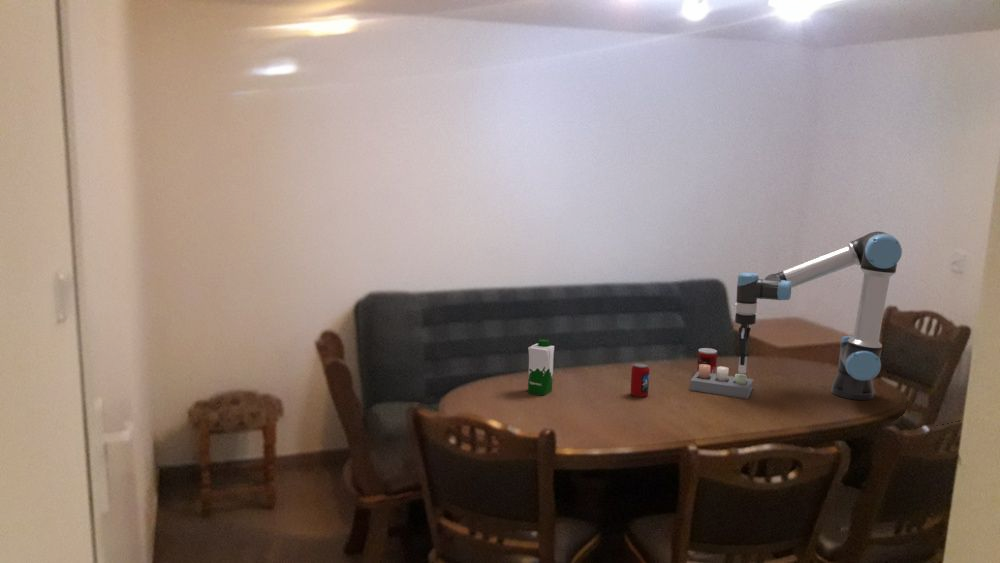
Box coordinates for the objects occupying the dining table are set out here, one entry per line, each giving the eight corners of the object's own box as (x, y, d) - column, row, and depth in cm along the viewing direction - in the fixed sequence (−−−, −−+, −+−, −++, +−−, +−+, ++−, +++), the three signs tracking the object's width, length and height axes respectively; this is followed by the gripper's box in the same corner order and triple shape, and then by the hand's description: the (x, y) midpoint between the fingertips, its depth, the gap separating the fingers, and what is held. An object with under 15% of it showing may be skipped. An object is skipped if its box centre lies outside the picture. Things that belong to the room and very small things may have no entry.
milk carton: (555, 390, 300) (556, 340, 296) (545, 397, 292) (547, 345, 288) (534, 387, 304) (536, 337, 300) (524, 393, 296) (525, 342, 292)
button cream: (728, 379, 307) (729, 367, 306) (726, 382, 303) (727, 370, 302) (717, 378, 308) (718, 365, 308) (715, 380, 304) (716, 368, 304)
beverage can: (648, 398, 293) (649, 367, 291) (630, 397, 294) (631, 366, 292) (648, 393, 299) (650, 363, 297) (630, 391, 301) (632, 361, 299)
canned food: (713, 373, 329) (715, 348, 327) (717, 378, 321) (718, 353, 319) (695, 372, 329) (697, 347, 328) (698, 377, 321) (699, 352, 320)
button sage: (746, 387, 304) (747, 374, 303) (745, 390, 300) (746, 377, 299) (735, 385, 306) (735, 373, 305) (733, 388, 302) (734, 375, 301)
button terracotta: (710, 377, 309) (711, 365, 309) (708, 379, 305) (709, 367, 305) (699, 375, 311) (700, 363, 310) (697, 378, 307) (698, 366, 306)
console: (752, 388, 308) (753, 379, 307) (747, 398, 295) (748, 388, 295) (696, 381, 317) (697, 371, 316) (689, 390, 304) (690, 380, 304)
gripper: (738, 309, 305) (734, 367, 309) (733, 315, 294) (729, 375, 298) (758, 311, 302) (754, 369, 306) (753, 317, 291) (749, 377, 294)
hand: (742, 372), depth 302 cm, fingers closed
